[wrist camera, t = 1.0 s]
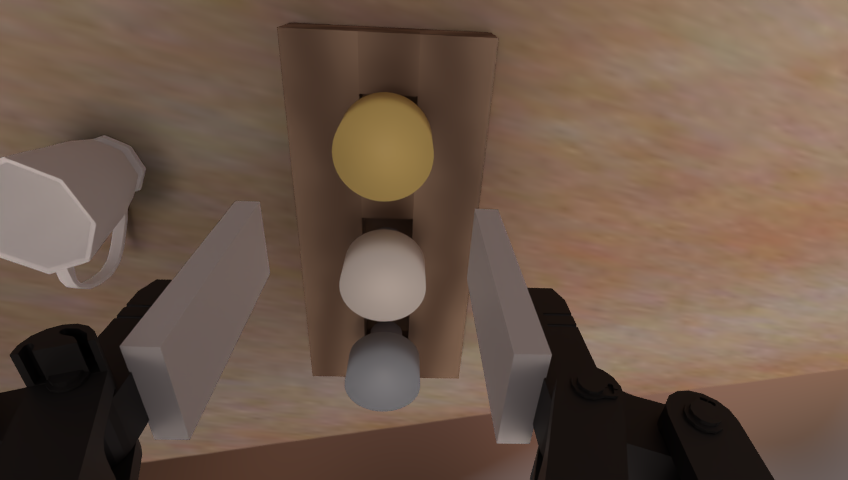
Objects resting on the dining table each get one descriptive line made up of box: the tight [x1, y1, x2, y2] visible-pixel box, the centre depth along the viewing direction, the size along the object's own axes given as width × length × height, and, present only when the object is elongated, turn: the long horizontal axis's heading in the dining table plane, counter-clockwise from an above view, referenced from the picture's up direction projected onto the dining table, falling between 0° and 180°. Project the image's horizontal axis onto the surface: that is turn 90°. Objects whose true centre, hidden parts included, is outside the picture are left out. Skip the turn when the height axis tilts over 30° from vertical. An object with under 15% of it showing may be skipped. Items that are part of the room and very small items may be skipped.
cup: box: [0, 135, 146, 289], centre depth 29 cm, size 7×10×8 cm
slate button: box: [345, 321, 420, 411], centre depth 33 cm, size 5×5×5 cm
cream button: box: [339, 227, 426, 321], centre depth 29 cm, size 5×5×5 cm
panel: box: [277, 23, 499, 378], centre depth 32 cm, size 12×26×3 cm, turn 177°
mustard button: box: [332, 92, 434, 201], centre depth 25 cm, size 5×5×5 cm
